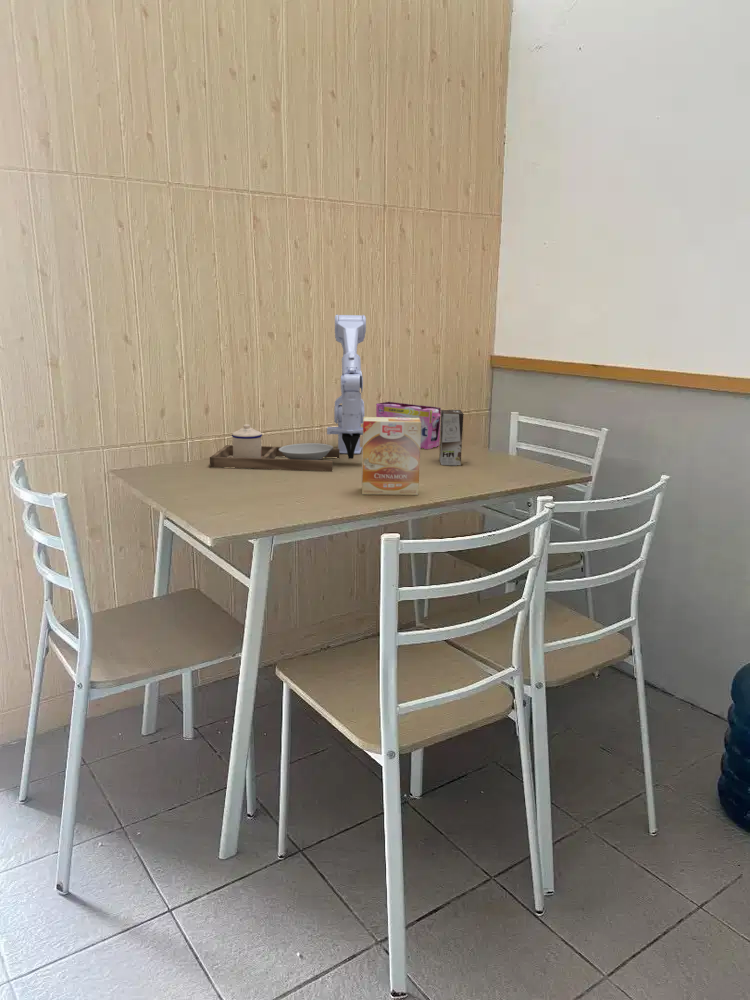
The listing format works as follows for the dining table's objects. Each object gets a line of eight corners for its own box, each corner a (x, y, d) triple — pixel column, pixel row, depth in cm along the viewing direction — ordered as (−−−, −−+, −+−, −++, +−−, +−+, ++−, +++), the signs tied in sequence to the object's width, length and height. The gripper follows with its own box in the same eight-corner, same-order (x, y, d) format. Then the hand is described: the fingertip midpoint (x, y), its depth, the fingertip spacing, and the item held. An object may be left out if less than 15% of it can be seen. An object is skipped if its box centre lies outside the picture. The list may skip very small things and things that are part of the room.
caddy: (226, 454, 241) (226, 445, 240) (339, 457, 239) (339, 448, 238) (210, 467, 222) (209, 457, 222) (332, 471, 220) (332, 461, 220)
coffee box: (461, 465, 231) (464, 413, 227) (440, 465, 231) (442, 413, 227) (458, 459, 240) (461, 409, 235) (438, 459, 240) (440, 408, 236)
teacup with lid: (268, 462, 230) (267, 425, 227) (243, 466, 224) (242, 428, 221) (246, 456, 239) (245, 420, 236) (221, 460, 232) (220, 423, 229)
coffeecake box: (361, 494, 195) (362, 420, 190) (361, 488, 202) (362, 416, 197) (419, 495, 196) (421, 421, 190) (417, 488, 202) (419, 416, 197)
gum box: (443, 447, 260) (445, 408, 256) (430, 450, 254) (432, 410, 250) (388, 438, 274) (388, 401, 270) (374, 441, 268) (375, 403, 264)
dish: (297, 472, 219) (297, 455, 217) (268, 463, 229) (268, 447, 228) (343, 464, 230) (343, 448, 229) (314, 456, 240) (314, 441, 239)
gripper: (325, 415, 222) (325, 460, 226) (374, 416, 221) (373, 461, 225) (328, 411, 229) (328, 455, 232) (376, 412, 228) (375, 456, 231)
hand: (350, 458), depth 229 cm, fingers closed
